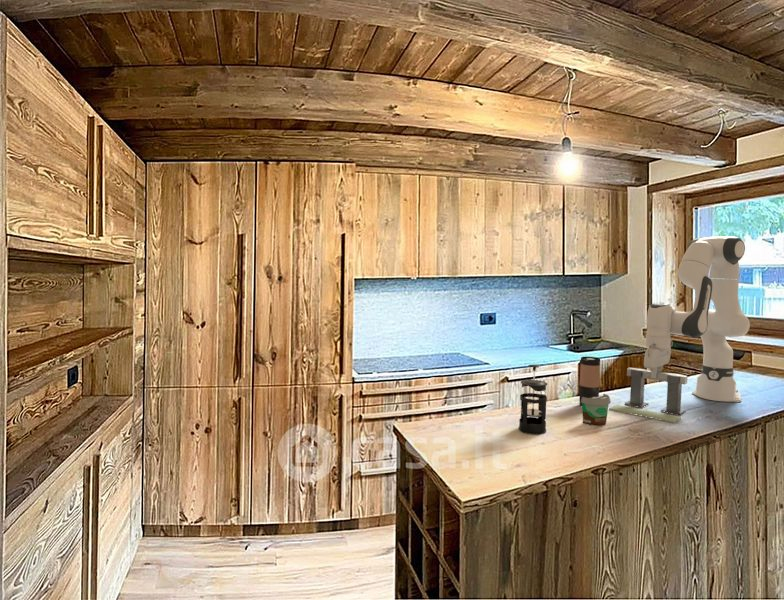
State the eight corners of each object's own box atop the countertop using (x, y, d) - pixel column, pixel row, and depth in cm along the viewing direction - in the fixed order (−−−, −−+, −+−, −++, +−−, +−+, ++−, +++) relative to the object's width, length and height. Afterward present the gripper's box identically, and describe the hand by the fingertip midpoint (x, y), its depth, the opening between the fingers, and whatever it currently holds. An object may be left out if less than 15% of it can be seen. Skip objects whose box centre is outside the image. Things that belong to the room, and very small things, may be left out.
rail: (629, 374, 219) (629, 367, 219) (687, 383, 204) (687, 375, 203) (626, 375, 217) (627, 368, 217) (684, 384, 201) (685, 376, 201)
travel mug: (595, 404, 216) (597, 356, 215) (601, 409, 209) (603, 360, 207) (576, 403, 217) (578, 356, 216) (581, 408, 209) (583, 359, 208)
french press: (533, 436, 174) (536, 369, 172) (511, 429, 181) (513, 364, 179) (554, 430, 181) (557, 365, 179) (532, 423, 188) (534, 361, 187)
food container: (593, 428, 183) (594, 400, 183) (579, 423, 189) (581, 396, 188) (617, 424, 189) (618, 397, 188) (603, 419, 194) (604, 393, 194)
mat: (616, 406, 214) (617, 404, 214) (680, 418, 197) (681, 417, 197) (609, 409, 208) (609, 408, 208) (674, 423, 191) (674, 421, 191)
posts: (631, 401, 221) (632, 367, 220) (685, 412, 206) (687, 374, 205) (624, 404, 216) (626, 369, 215) (680, 415, 201) (682, 377, 200)
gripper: (657, 346, 200) (655, 381, 200) (674, 341, 214) (672, 374, 215) (640, 344, 204) (638, 379, 205) (657, 339, 218) (656, 372, 219)
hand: (656, 376), depth 210 cm, fingers open, 3 cm apart
